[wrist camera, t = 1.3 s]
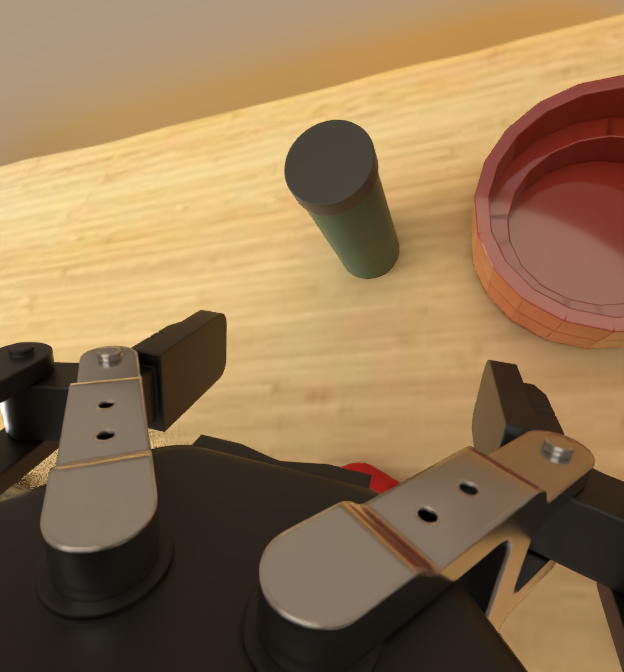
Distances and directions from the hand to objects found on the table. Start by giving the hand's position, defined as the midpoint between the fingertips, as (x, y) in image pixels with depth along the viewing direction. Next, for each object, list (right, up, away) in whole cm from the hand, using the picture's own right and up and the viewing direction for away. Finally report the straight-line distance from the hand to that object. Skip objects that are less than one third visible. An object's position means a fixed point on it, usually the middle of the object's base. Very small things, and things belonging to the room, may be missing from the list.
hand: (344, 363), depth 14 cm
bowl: (+17, +7, +16) cm, 24 cm away
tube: (+3, +7, +20) cm, 22 cm away
